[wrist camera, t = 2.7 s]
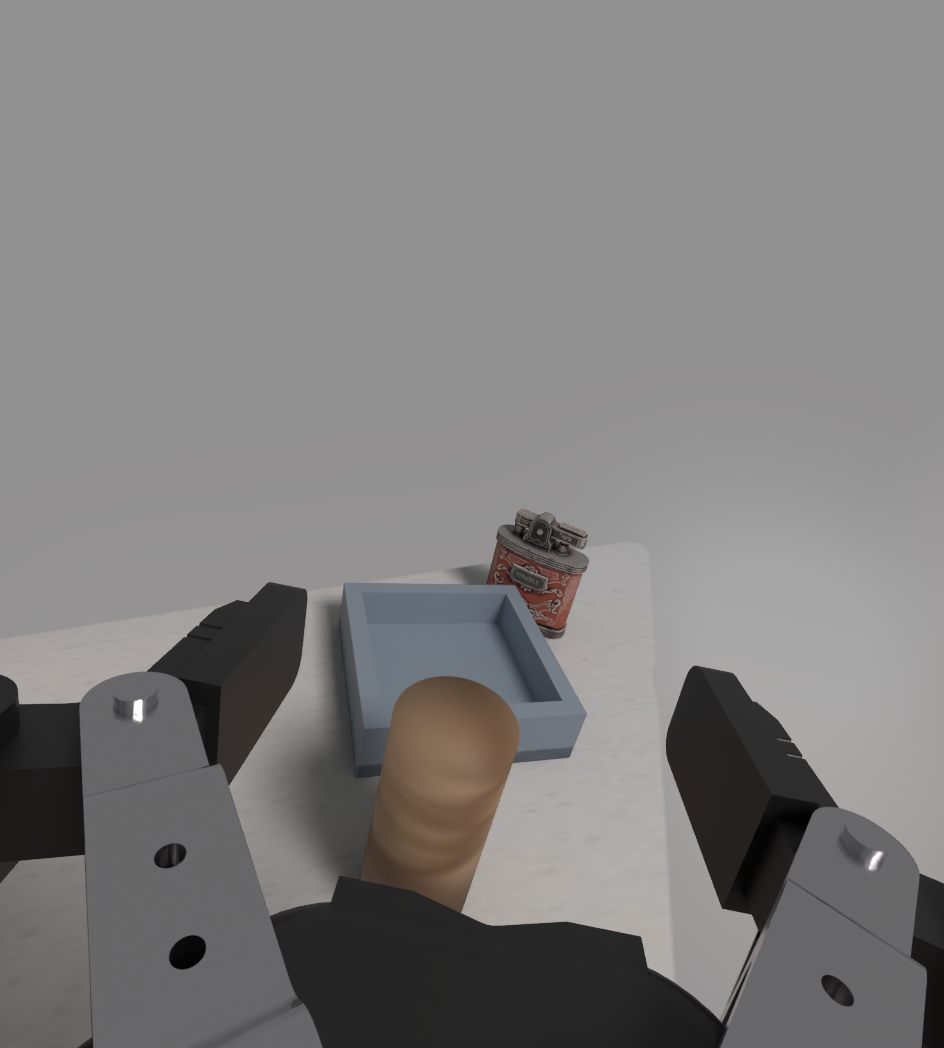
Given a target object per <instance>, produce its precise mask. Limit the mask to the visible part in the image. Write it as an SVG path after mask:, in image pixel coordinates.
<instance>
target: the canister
mask: <svg viewBox="0 0 944 1048" xmlns="http://www.w3.org/2000/svg"><path fill="white" fill-rule="evenodd" d="M519 739H520V731H519V725H518V722H517V719H516V717H515V715H514V713H513V711H512V710H511V708H510V707H509V705H508V704H507V703H506V702H505V701H504V700H503V699H502V698H501V697H500V696H499V695H498V694H496V693H495V692H494V691H492V690H491V689H489V688H488V687H486V686H484V685H482V684H480V683H477V682H475V681H472V680H469V679H465V678H460V677H453V676H438V677H431V678H427V679H424V680H421V681H418V682H416V683H414V684H413V685H411V686H409V687H408V688H407V689H406V690H404V691H403V693H402V694H401V695H400V696H399V698H398V699H397V701H396V703H395V705H394V708H393V712H392V718H391V723H390V728H389V733H388V738H387V743H386V749H385V754H384V759H383V764H382V769H381V774H380V780H379V785H378V790H377V795H376V800H375V805H374V811H373V816H372V821H371V826H370V831H369V836H368V842H367V847H366V852H365V857H364V862H363V867H362V873H361V878H360V880H362V881H367V882H372V883H377V884H382V885H387V886H392V887H397V888H402V889H407V890H412V891H415V892H417V893H419V894H421V895H423V896H425V897H428V898H430V899H432V900H434V901H436V902H438V903H440V904H442V905H445V906H447V907H449V908H451V909H453V910H455V911H457V912H459V913H461V912H462V909H463V906H464V903H465V900H466V897H467V894H468V891H469V888H470V885H471V883H472V880H473V877H474V874H475V871H476V868H477V865H478V862H479V859H480V856H481V853H482V850H483V847H484V845H485V842H486V839H487V836H488V833H489V830H490V827H491V824H492V821H493V818H494V815H495V812H496V809H497V807H498V804H499V801H500V798H501V795H502V792H503V789H504V786H505V783H506V780H507V777H508V774H509V772H510V769H511V766H512V763H513V760H514V757H515V754H516V751H517V748H518V745H519Z"/></svg>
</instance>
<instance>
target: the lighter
mask: <svg viewBox="0 0 944 1048" xmlns="http://www.w3.org/2000/svg"><path fill="white" fill-rule="evenodd" d="M525 528H528V529H529V530H527V529H525ZM496 537H497V540H498V541H497V545H496V548H495V552H494V556H493V560H492V564H491V568H490V572H489V576H488V579H487V583H486V585H515V586H516V588H517V590H518V591H519V593H520V595H521V597H522V599H523V600H524V602H525V604H526V606H527V608H528V609H529V611H530V613H531V615H532V617H533V618H534V620H535V622H536V624H537V625H538V627H539V629H540V631H541V633H542V634H543V636H544V637H546V638H549V639H559V638H561V637H562V636H563V635H564V632H565V629H566V626H567V623H566V620H567V617H568V614H569V611H570V609H571V606H572V603H573V600H574V597H575V594H576V591H577V588H578V585H579V583H580V580H581V577H582V574H583V573H584V572H585V571H586V569H587V566H588V563H589V559H588V558H587V556H586V555H584V554H583V553H581V552H579V551H577V550H575V549H573V548H571V547H569V545H570V546H573V547H575V548H577V549H584V548H585V545H586V542H587V539H588V535H587V532H585V531H583V530H581V529H578V528H576V527H573V526H571V525H568V524H566V523H562V524H561V523H559V522H557V521H556V519H555V517H554V516H553V514H550V513H548V512H544V513H543V514H542V515H538V514H536V513H534V512H531V511H528V510H526V509H519V510H518V511H517V515H516V519H515V526H514V525H502V526H500V527H499V529H498V532H497V536H496ZM556 540H558V541H560V542H558V541H556Z"/></svg>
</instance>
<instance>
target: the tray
mask: <svg viewBox="0 0 944 1048" xmlns="http://www.w3.org/2000/svg"><path fill="white" fill-rule="evenodd" d="M339 629H340V638H341V647H342V656H343V664H344V673H345V682H346V691H347V700H348V709H349V717H350V726H351V735H352V744H353V753H354V761H355V770H356V778H357V777H367V776H378V775H380V774H381V769H382V764H383V759H384V754H385V749H386V743H387V738H388V733H389V728H390V723H391V718H392V712H393V708H394V705H395V703H396V701H397V699H398V698H399V696H400V695H401V694H402V693H403V691H404V690H406V689H407V688H408V687H409V686H411V685H413V684H414V683H416V682H418V681H421V680H424V679H427V678H431V677H438V676H453V677H460V678H465V679H469V680H472V681H475V682H477V683H480V684H482V685H484V686H486V687H488V688H489V689H491V690H492V691H494V692H495V693H496V694H498V695H499V696H500V697H501V698H502V699H503V700H504V701H505V702H506V703H507V704H508V705H509V707H510V708H511V710H512V711H513V713H514V715H515V717H516V719H517V722H518V725H519V731H520V739H519V745H518V748H517V751H516V754H515V757H514V760H513V763H515V762H526V761H536V760H547V759H558V758H568V757H570V754H571V752H572V750H573V747H574V745H575V742H576V740H577V737H578V735H579V732H580V730H581V727H582V725H583V722H584V720H585V717H586V715H587V713H586V711H585V710H584V708H583V706H582V704H581V703H580V701H579V699H578V697H577V695H576V694H575V692H574V690H573V688H572V686H571V685H570V683H569V681H568V679H567V677H566V676H565V674H564V672H563V670H562V668H561V667H560V665H559V663H558V661H557V660H556V658H555V656H554V654H553V652H552V651H551V649H550V647H549V645H548V643H547V642H546V640H545V638H544V636H543V634H542V633H541V631H540V629H539V627H538V625H537V624H536V622H535V620H534V618H533V617H532V615H531V613H530V611H529V609H528V608H527V606H526V604H525V602H524V600H523V599H522V597H521V595H520V593H519V591H518V590H517V588H516V586H515V585H463V584H394V583H344V588H343V596H342V604H341V612H340V621H339Z"/></svg>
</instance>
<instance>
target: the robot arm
mask: <svg viewBox="0 0 944 1048" xmlns="http://www.w3.org/2000/svg"><path fill="white" fill-rule="evenodd" d="M306 609H307V591H306V590H305V589H301V588H296V587H292V586H287V585H281V584H277V583H272V582H269V583H267V584H266V585H265V586H264V587H263V588H262V589H261V590H260V591H259V592H258V593H257V594H256V595H255V596H254V597H253V598H252V599H251V600H250V601H249V602H244V601H239V600H236V601H234V602H232V603H229V604H227V605H224V606H222V607H220V608H217V609H215V610H214V611H212V612H211V613H210V614H209V615H208V616H207V617H206V618H205V619H204V620H203V621H201V622H200V624H199V626H196V627H195V628H194V629H193V630H192V631H190V632H189V633H188V634H187V637H184V638H183V639H182V640H181V641H180V642H178V643H177V644H176V645H175V646H174V647H173V648H172V649H171V650H170V651H169V652H167V653H166V654H165V655H164V656H163V657H162V658H161V659H160V660H159V661H158V662H156V663H155V664H154V665H153V666H152V667H151V668H150V669H149V670H148V671H147V672H135V673H128V674H123V675H120V676H116V677H113V678H110V679H108V680H105V681H103V682H101V683H100V684H98V685H96V686H95V687H93V688H92V689H91V690H90V691H88V692H87V693H86V694H85V696H84V697H83V698H82V700H81V702H79V703H67V704H19V700H18V688H17V686H16V684H15V683H14V682H13V681H12V680H11V679H9V678H8V677H5V676H2V675H0V883H1V882H2V880H3V879H4V878H5V877H6V876H7V875H8V873H9V872H10V871H11V870H12V869H13V868H14V867H15V865H16V864H17V863H18V862H19V861H21V860H32V859H43V858H54V857H65V856H76V855H85V875H86V900H87V925H88V950H89V976H90V1002H91V1028H92V1038H90V1039H89V1040H87V1041H86V1042H85V1043H83V1044H82V1045H81V1046H79V1047H78V1048H944V884H943V883H941V882H939V881H936V880H934V879H931V878H929V877H927V876H925V875H922V874H920V873H919V870H918V866H917V864H916V862H915V860H914V859H913V857H912V856H911V855H910V853H909V852H908V851H907V850H906V848H905V847H904V846H903V845H902V844H901V843H900V842H899V841H898V840H896V839H895V838H894V837H893V836H892V835H891V834H889V833H888V832H887V831H885V830H884V829H883V828H881V827H880V826H878V825H876V824H875V823H873V822H872V821H870V820H868V819H866V818H864V817H862V816H860V815H858V814H855V813H853V812H850V811H847V810H844V809H840V808H839V807H838V806H837V805H836V803H835V802H834V800H833V799H832V797H831V796H830V795H829V793H828V792H827V790H826V789H825V787H824V786H823V784H822V783H821V781H820V780H819V779H818V777H817V776H816V774H815V773H814V771H813V770H812V769H811V767H810V766H809V765H808V763H807V761H806V760H805V759H802V754H801V753H800V751H799V750H798V748H797V747H796V745H795V744H794V743H791V738H790V737H789V735H788V734H787V733H786V731H785V730H784V728H783V727H782V725H781V724H780V723H779V721H778V720H777V719H776V718H774V717H773V716H772V715H771V714H770V713H769V712H768V711H766V710H765V709H764V708H763V707H762V706H761V705H759V704H758V703H757V702H753V701H752V700H751V699H750V697H749V696H748V694H747V693H746V691H745V690H744V688H743V687H742V685H741V684H740V682H739V681H738V679H737V677H736V676H735V675H734V674H733V673H730V672H725V671H720V670H715V669H710V668H705V667H700V666H693V667H692V668H691V669H690V670H689V672H688V674H687V676H686V679H685V682H684V685H683V688H682V690H681V693H680V696H679V699H678V702H677V705H676V708H675V710H674V714H673V716H672V719H671V722H670V725H669V728H668V732H667V738H666V753H667V759H668V762H669V765H670V768H671V771H672V773H673V776H674V779H675V781H676V784H677V787H678V790H679V792H680V795H681V798H682V800H683V803H684V806H685V809H686V811H687V814H688V817H689V820H690V822H691V825H692V828H693V831H694V833H695V836H696V839H697V841H698V844H699V847H700V850H701V852H702V855H703V858H704V860H705V863H706V866H707V869H708V872H709V874H710V877H711V880H712V882H713V885H714V888H715V891H716V893H717V896H718V899H719V902H720V904H721V907H722V909H727V910H732V911H737V912H742V913H747V914H752V916H753V918H754V921H755V923H756V925H757V928H758V931H757V933H756V936H755V938H754V940H753V942H752V944H751V947H750V949H749V951H748V954H747V956H746V959H745V961H744V963H743V965H742V968H741V970H740V973H739V975H738V977H737V980H736V982H735V985H734V987H733V989H732V991H731V994H730V996H729V998H728V1001H727V1003H726V1006H725V1008H724V1010H723V1013H722V1015H721V1017H720V1020H719V1019H718V1018H717V1017H716V1016H715V1015H714V1014H713V1013H712V1012H711V1011H710V1010H709V1009H707V1008H706V1007H705V1006H704V1005H703V1004H701V1003H700V1002H699V1001H698V1000H697V999H696V998H695V997H693V996H692V995H691V994H690V993H688V992H687V991H685V990H684V989H682V988H681V987H680V986H678V985H677V984H676V983H674V982H673V981H671V980H669V979H668V978H666V977H664V976H663V975H661V974H659V973H658V972H656V971H654V970H652V969H649V968H648V967H647V963H646V958H645V953H644V949H643V944H642V939H641V937H640V936H635V935H630V934H625V933H620V932H615V931H610V930H605V929H600V928H595V927H590V926H585V925H580V924H575V923H571V922H554V923H538V924H521V925H505V926H491V925H486V924H483V923H481V922H479V921H476V920H474V919H472V918H470V917H468V916H466V915H464V914H462V913H459V912H457V911H455V910H453V909H451V908H449V907H447V906H445V905H442V904H440V903H438V902H436V901H434V900H432V899H430V898H428V897H425V896H423V895H421V894H419V893H417V892H415V891H412V890H407V889H402V888H397V887H392V886H387V885H382V884H377V883H372V882H367V881H362V880H357V879H352V878H347V877H343V876H339V879H338V882H337V885H336V888H335V891H334V895H333V898H332V901H331V902H326V903H315V904H310V905H304V906H299V907H295V908H292V909H289V910H285V911H282V912H279V913H276V914H274V915H272V916H269V913H268V909H267V906H266V903H265V900H264V897H263V894H262V890H261V887H260V884H259V881H258V878H257V874H256V871H255V868H254V865H253V862H252V859H251V855H250V852H249V849H248V846H247V843H246V839H245V836H244V833H243V830H242V827H241V823H240V820H239V817H238V814H237V811H236V808H235V804H234V801H233V798H232V795H231V792H230V788H229V785H230V783H231V782H232V780H233V779H234V777H235V775H236V774H237V772H238V771H239V769H240V768H241V766H242V764H243V763H244V761H245V760H246V758H247V757H248V755H249V753H250V752H251V750H252V749H253V747H254V745H255V744H256V742H257V741H258V739H259V738H260V736H261V734H262V733H263V731H264V730H265V728H266V727H267V725H268V723H269V722H270V720H271V719H272V717H273V716H274V714H275V712H276V711H277V709H278V708H279V706H280V704H281V703H282V701H283V700H284V698H285V697H286V695H287V693H288V692H289V690H290V689H291V687H292V685H293V683H294V681H295V679H296V676H297V673H298V670H299V666H300V662H301V656H302V647H303V637H304V628H305V618H306Z"/></svg>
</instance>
